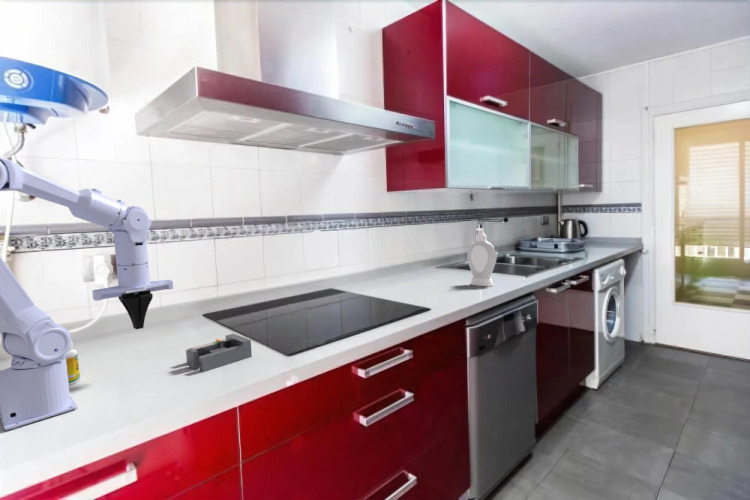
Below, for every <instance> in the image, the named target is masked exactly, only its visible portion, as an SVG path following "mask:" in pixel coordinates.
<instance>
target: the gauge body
mask: <svg viewBox="0 0 750 500" xmlns="http://www.w3.org/2000/svg"><path fill="white" fill-rule="evenodd" d="M222 340H223V346H224V347H225V348H227V349H224V350H220V351H217V352H213V353H210V354H209V350H213V349H217V348H220V342H218V341H216V340H215V341H211V342H209V343H205V344H201V345H198V346H197V345H196V346H195V347H192V348H193V349H195V350H197V351H198V359H199V368H198V370H199V371H200V372H202V373H204V372H207V371H210V370H215V369H217V368H220V367H223V366H226V365H230V364H233V363H236V362H238V361H242V360H245V359H248V358H252V357H253V355H252V340H251V339H249V338H246V337H244V336H240V335H239V334H235V333H230V334H226V335H225V338H224V339H222ZM187 349H188V348H186V349H185V357H186V359H185V360H186V364H187V365H188V352H187Z"/></svg>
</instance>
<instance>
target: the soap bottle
mask: <svg viewBox="0 0 750 500" xmlns="http://www.w3.org/2000/svg"><path fill="white" fill-rule="evenodd" d="M475 231H478V233H477V235H475V241H473V242H471V243H470V245H469V246H468V248H467V252H466V253H467V254H466V259H467V263H468V266H469V269H470V271H471V274H472V278H471V281H470V285H471V286H475V287H493V286H494V283H493V280H492V278H491V276H492V273H493V271H494V270H495V265H496V263H497V252H496V249H495V246H494V245H493V244H492V243H491V242H490V241H488V240H487V238H488V236H487V234H486V233H485V232H484V231H485V228H481V227H480V228H476V229H475Z"/></svg>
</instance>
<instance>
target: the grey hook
mask: <svg viewBox="0 0 750 500" xmlns="http://www.w3.org/2000/svg"><path fill="white" fill-rule="evenodd" d="M215 341H218V342H220V348H217V349H213V350H209V354H210V353H213V352H217V351H220V350H224V349H227V348H225V347H224V346H223V339H220V338H216V339H215ZM186 349H187V352H188V364H187V365H188V367H189V368H191V369H192V370H195V371H196V370H199V359H198V351H197V350H195V349H193V347H191V348H186Z"/></svg>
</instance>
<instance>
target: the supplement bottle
mask: <svg viewBox="0 0 750 500" xmlns="http://www.w3.org/2000/svg"><path fill="white" fill-rule="evenodd" d="M73 347H74V342H73V341H72V342H71V346H70V349H69V350H68V352H67V353H66V354H65V355H66V364H67V373H68V383H69V387H70V386H72V385H76V384H77V383H78V382H79V381H80V379H81V376H80V375H81V374H80V365H79V364H80V363H79V354H78V351H77V350H76V349H73Z"/></svg>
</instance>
